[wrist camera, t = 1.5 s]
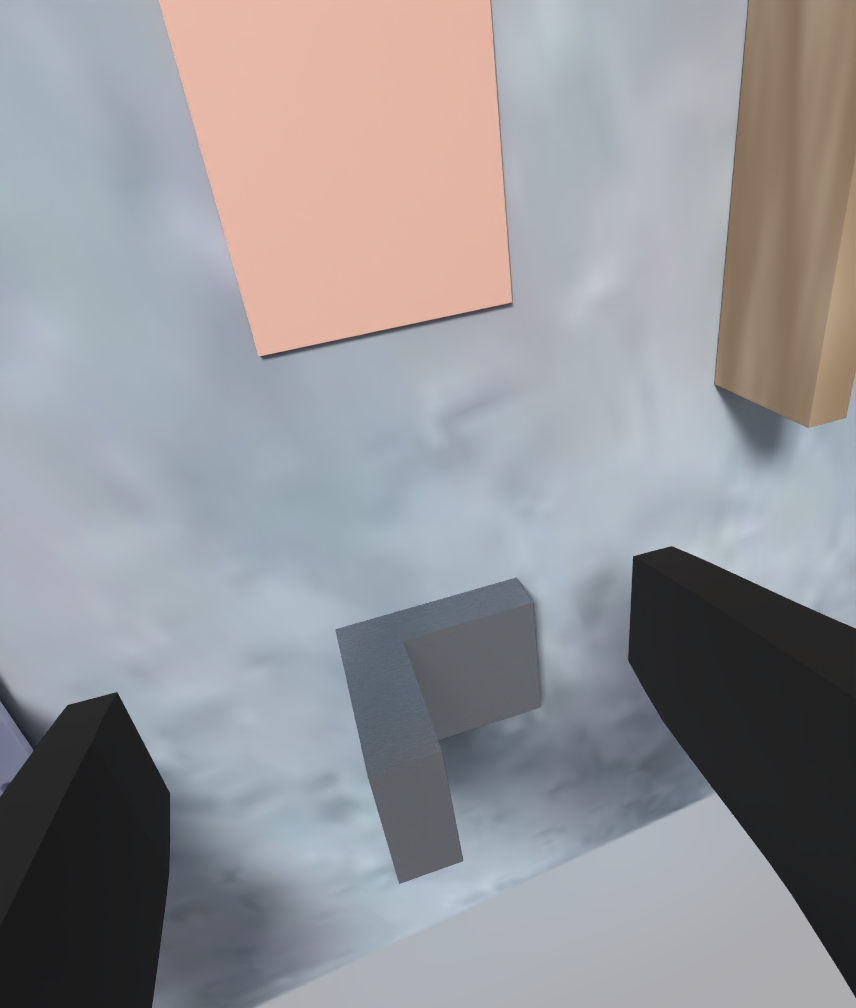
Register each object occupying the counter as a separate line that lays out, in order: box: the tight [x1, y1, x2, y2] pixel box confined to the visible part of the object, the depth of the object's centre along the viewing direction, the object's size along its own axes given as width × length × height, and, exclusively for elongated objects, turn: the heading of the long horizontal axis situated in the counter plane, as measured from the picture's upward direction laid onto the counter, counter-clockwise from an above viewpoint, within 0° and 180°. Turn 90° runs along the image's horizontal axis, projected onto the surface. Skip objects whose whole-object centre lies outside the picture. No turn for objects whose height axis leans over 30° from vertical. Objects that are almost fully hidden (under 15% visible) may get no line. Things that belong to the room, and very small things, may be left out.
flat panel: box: [159, 0, 512, 356], centre depth 15 cm, size 7×8×1 cm
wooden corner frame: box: [715, 0, 856, 428], centre depth 13 cm, size 21×17×4 cm
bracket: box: [335, 578, 541, 884], centre depth 21 cm, size 6×5×6 cm
